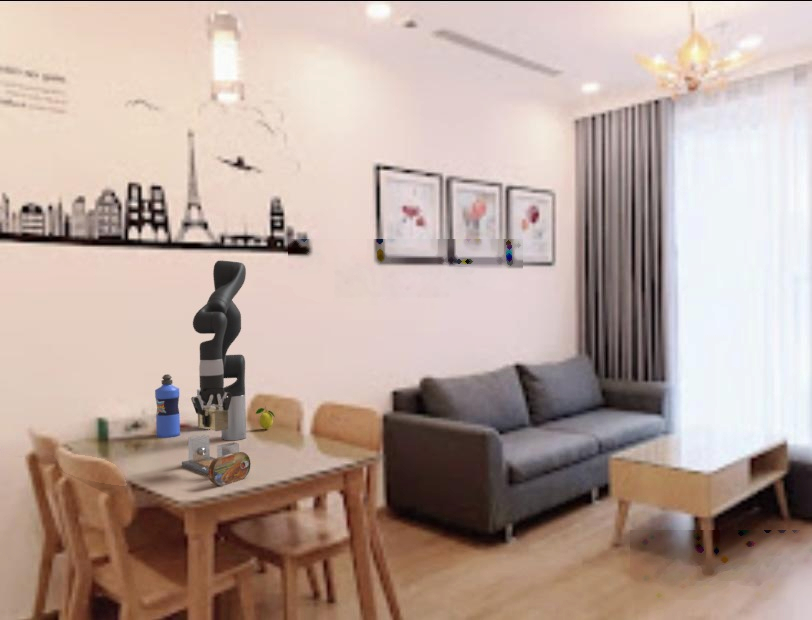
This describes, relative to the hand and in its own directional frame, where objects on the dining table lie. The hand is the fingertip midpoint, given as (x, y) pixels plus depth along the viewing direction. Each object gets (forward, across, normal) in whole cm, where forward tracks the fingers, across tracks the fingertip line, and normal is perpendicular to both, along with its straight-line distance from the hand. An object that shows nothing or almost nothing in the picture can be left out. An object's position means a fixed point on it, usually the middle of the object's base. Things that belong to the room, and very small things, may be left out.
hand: (212, 425), depth 217 cm
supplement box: (+14, -36, -66) cm, 77 cm away
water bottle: (+14, -15, -64) cm, 67 cm away
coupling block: (+1, 0, 0) cm, 1 cm away
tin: (+15, +4, +17) cm, 23 cm away
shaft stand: (+14, 0, 0) cm, 14 cm away
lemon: (+14, -48, -43) cm, 66 cm away
